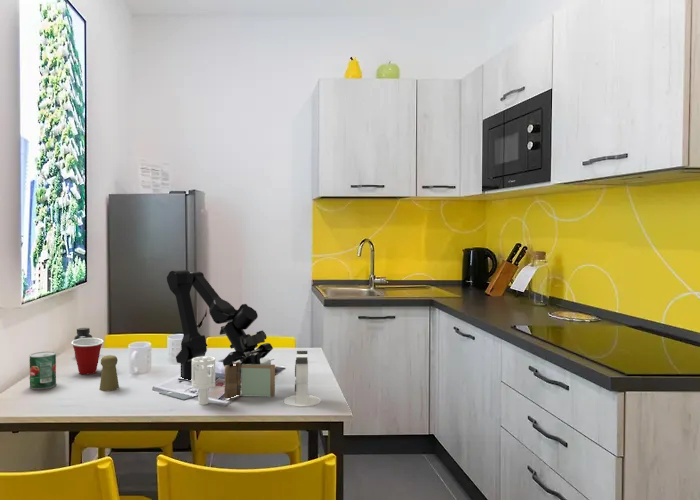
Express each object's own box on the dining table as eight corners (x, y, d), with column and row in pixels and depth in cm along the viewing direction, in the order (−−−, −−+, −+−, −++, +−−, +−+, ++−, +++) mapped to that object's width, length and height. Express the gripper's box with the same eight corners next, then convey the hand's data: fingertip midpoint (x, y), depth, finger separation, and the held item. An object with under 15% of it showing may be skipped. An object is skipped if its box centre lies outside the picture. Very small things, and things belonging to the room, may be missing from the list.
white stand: (284, 395, 185) (285, 349, 184) (319, 395, 186) (320, 349, 185) (283, 407, 173) (283, 358, 172) (320, 406, 174) (320, 358, 173)
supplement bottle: (87, 354, 237) (87, 326, 237) (96, 357, 233) (96, 328, 233) (71, 357, 232) (70, 328, 231) (80, 360, 228) (79, 330, 227)
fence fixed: (223, 399, 179) (223, 366, 179) (238, 394, 185) (238, 361, 184) (227, 400, 178) (227, 366, 178) (242, 395, 184) (242, 362, 183)
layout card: (159, 393, 185) (159, 392, 185) (181, 387, 192) (181, 385, 192) (183, 400, 178) (183, 398, 178) (205, 393, 186) (205, 392, 186)
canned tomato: (24, 388, 189) (23, 355, 189) (44, 381, 197) (43, 350, 196) (42, 390, 187) (41, 357, 186) (61, 384, 194) (61, 352, 193)
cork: (114, 384, 194) (114, 352, 194) (121, 388, 190) (121, 356, 190) (96, 388, 190) (96, 355, 190) (103, 392, 186) (103, 358, 185)
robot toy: (225, 375, 212) (260, 376, 207) (224, 363, 212) (259, 364, 206) (242, 367, 223) (276, 368, 218) (241, 356, 223) (275, 357, 218)
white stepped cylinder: (193, 407, 171) (193, 358, 170) (190, 401, 177) (190, 353, 177) (217, 405, 174) (217, 356, 173) (212, 398, 180) (213, 352, 180)
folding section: (242, 394, 184) (242, 363, 184) (275, 395, 184) (275, 364, 183) (241, 395, 183) (241, 364, 182) (274, 396, 182) (274, 365, 182)
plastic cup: (76, 378, 202) (76, 344, 201) (67, 372, 210) (67, 340, 209) (108, 373, 209) (107, 341, 208) (98, 367, 217) (98, 336, 216)
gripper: (230, 327, 179) (255, 369, 173) (270, 319, 194) (293, 357, 189) (212, 347, 183) (235, 388, 178) (252, 338, 199) (274, 375, 194)
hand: (261, 376), depth 185 cm, fingers closed
